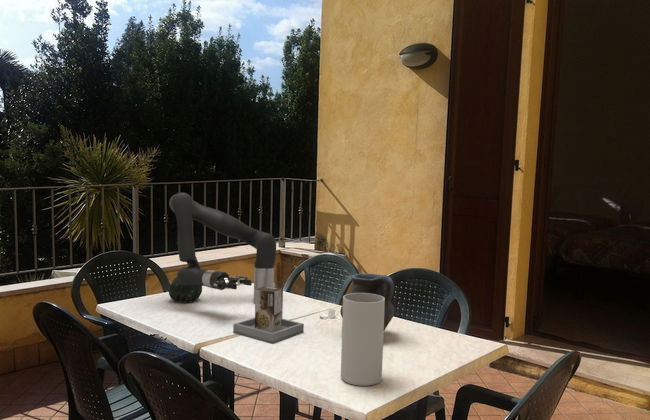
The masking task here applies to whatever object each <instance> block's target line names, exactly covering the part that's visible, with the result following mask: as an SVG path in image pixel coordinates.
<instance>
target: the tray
mask: <svg viewBox="0 0 650 420" xmlns="http://www.w3.org/2000/svg"><path fill="white" fill-rule="evenodd" d="M304 326H305V324H304V322H298V321H294V320H292V319H291V320H289V319H286V318H282V330H280V331H277V332H274V333H271V332H267V331H264V330H260V329H256V328H255V317H252V318H249V319H245V320H241V321H238V322H235V323H233V326H232V327H233V331H232V332H234V333H233V334H236V333H237V334H236V335H239V336H244V337H248V338H250V339H254V340H258V341H262V342H265V343H268V344H272V345H273V344H275V343H276V344H277V343H279V342H282V341H284V340H287V339H290V338H292V337H295V336H297V335H298V336H299V335H301V334H304V331H305V329H304Z"/></svg>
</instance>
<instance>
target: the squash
mask: <svg viewBox="0 0 650 420" xmlns="http://www.w3.org/2000/svg"><path fill="white" fill-rule="evenodd" d="M202 292H203V286H202V285H186V284H182V283H181V282H179V280H178V278H177V275H176V276H175V277H174V278H173V280H171V283H170V284H169V287H168V295H169V298H170V299H171V300H172V301H174V302H181V303H182V302H184V303H186V304H189V303H193V302H195V301H197V300H198V299H199V298H200V297H201V295H202Z"/></svg>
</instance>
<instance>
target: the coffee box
mask: <svg viewBox="0 0 650 420" xmlns="http://www.w3.org/2000/svg"><path fill="white" fill-rule="evenodd" d="M283 297H284V289H283V288H280V287H275V288H273V287H265V286H263V287H260V288H258V289H255V304H254V318H255V328H256V329H260V330H264V331H267V332H271V333H274V332H277V331H280V330H282V319H283V305H284V304H283Z"/></svg>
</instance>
